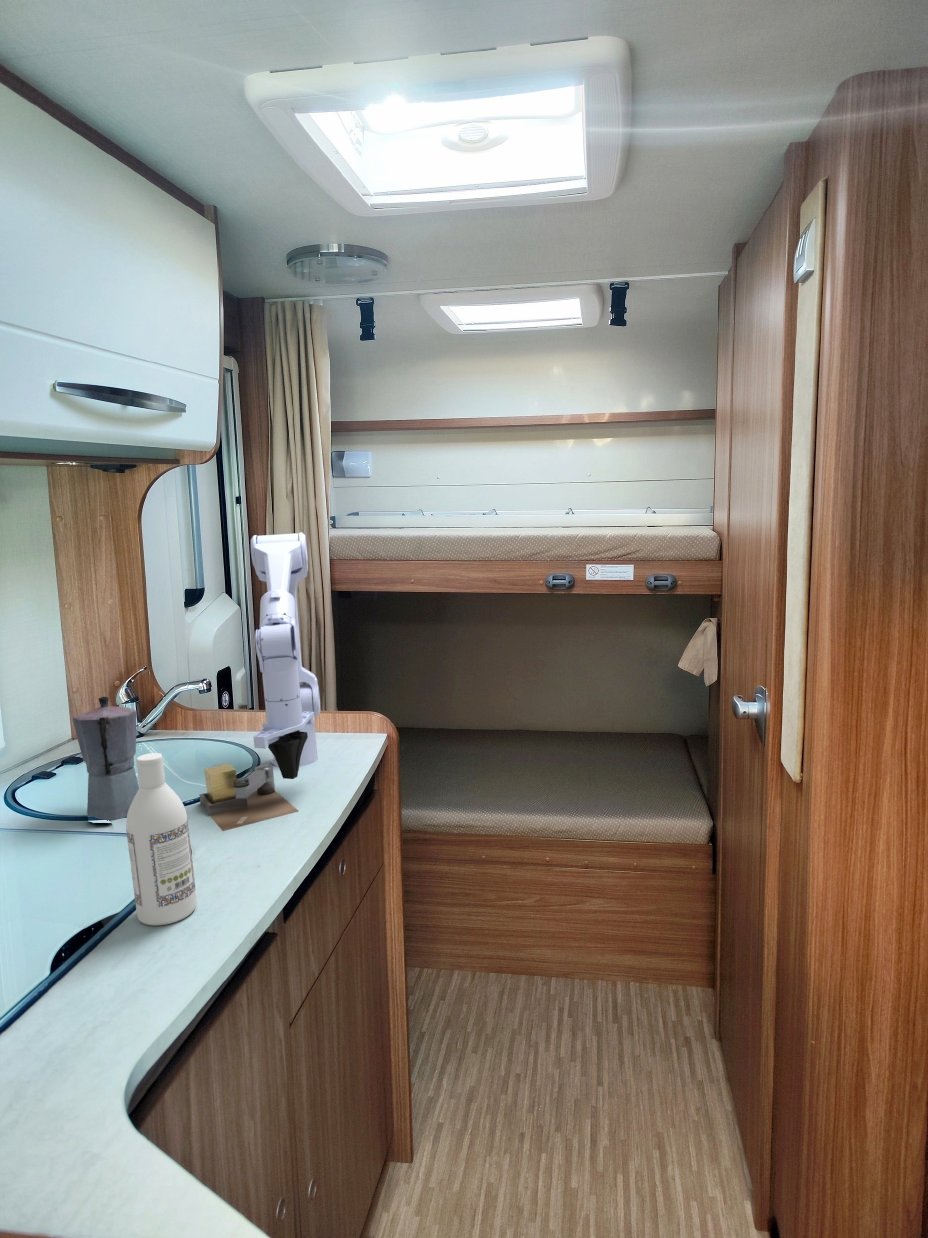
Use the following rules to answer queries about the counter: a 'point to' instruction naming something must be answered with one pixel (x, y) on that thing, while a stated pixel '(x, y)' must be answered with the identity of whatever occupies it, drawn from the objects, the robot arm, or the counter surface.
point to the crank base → (246, 809)
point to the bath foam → (159, 848)
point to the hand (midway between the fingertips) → (290, 777)
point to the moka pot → (108, 758)
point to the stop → (220, 783)
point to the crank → (256, 782)
